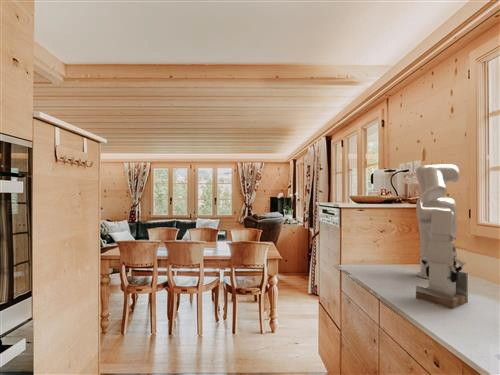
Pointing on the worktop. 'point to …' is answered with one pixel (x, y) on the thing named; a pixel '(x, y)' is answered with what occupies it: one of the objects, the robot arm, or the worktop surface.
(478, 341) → the worktop surface
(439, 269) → the supplement box
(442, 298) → the wall shelf
